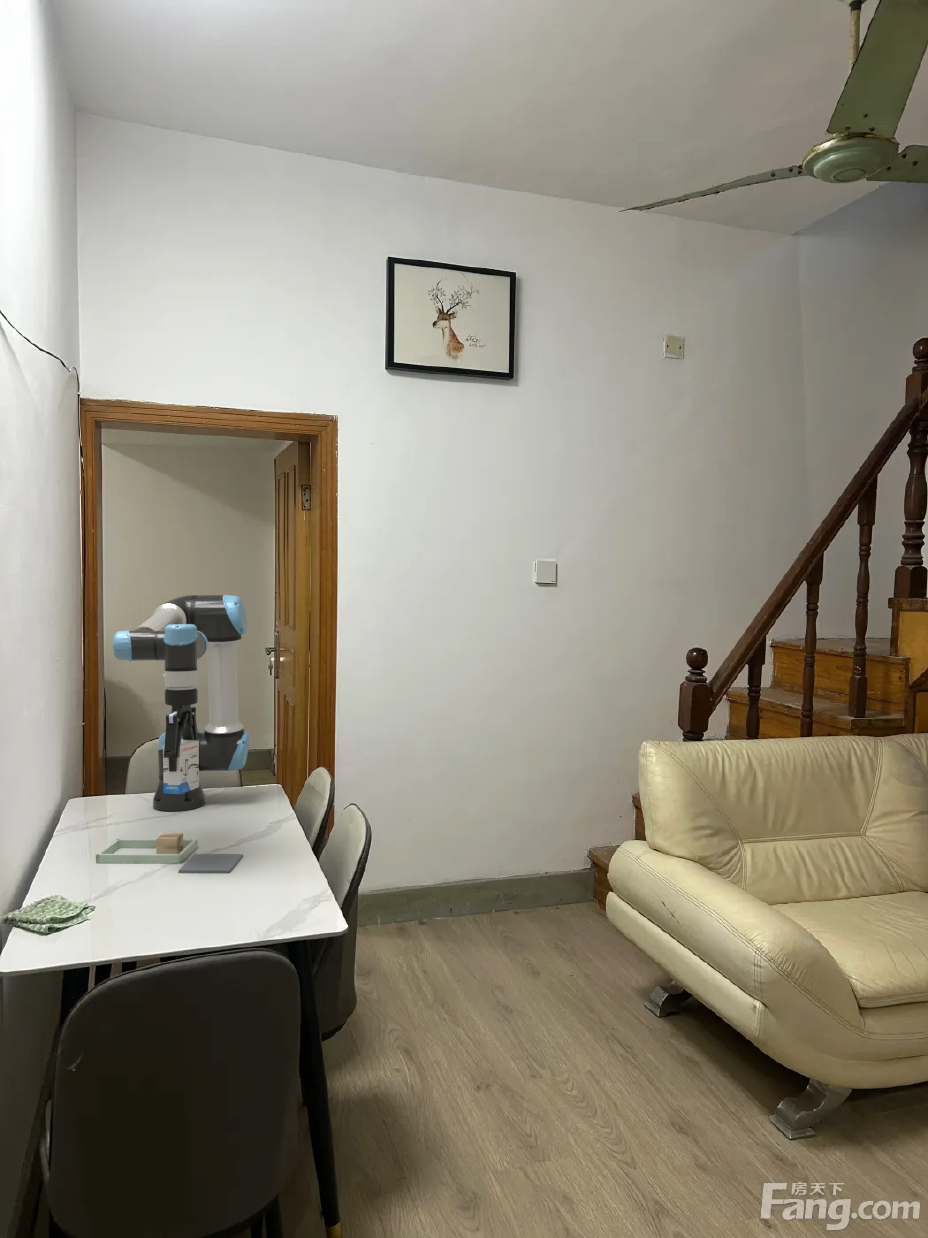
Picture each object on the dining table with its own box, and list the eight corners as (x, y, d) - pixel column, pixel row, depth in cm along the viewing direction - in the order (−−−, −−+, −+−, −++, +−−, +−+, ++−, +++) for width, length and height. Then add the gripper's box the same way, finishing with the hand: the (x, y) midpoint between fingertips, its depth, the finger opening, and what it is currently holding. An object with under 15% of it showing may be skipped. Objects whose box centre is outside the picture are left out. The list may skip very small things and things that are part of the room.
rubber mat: (194, 856, 208) (194, 854, 208) (242, 856, 208) (242, 854, 208) (178, 873, 196) (178, 870, 196) (229, 873, 196) (229, 870, 196)
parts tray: (117, 846, 215) (117, 839, 215) (197, 847, 215) (197, 839, 215) (95, 863, 203) (95, 855, 203) (180, 863, 203) (180, 855, 203)
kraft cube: (163, 852, 212) (163, 832, 211) (183, 852, 212) (183, 832, 211) (156, 858, 207) (156, 838, 206) (176, 858, 207) (176, 838, 206)
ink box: (180, 795, 198) (180, 745, 198) (162, 793, 200) (161, 744, 199) (200, 787, 207) (199, 739, 206) (182, 785, 208) (181, 738, 208)
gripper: (182, 683, 213) (182, 770, 214) (147, 693, 192) (148, 790, 192) (211, 683, 213) (211, 770, 214) (180, 693, 191) (180, 790, 192)
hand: (181, 780), depth 203 cm, fingers closed on ink box, 9 cm apart
